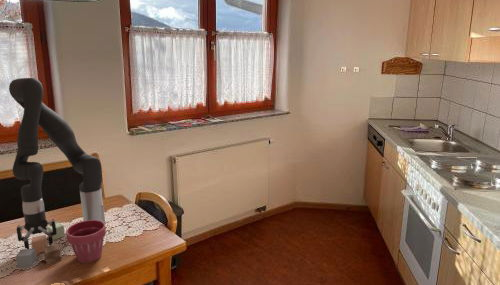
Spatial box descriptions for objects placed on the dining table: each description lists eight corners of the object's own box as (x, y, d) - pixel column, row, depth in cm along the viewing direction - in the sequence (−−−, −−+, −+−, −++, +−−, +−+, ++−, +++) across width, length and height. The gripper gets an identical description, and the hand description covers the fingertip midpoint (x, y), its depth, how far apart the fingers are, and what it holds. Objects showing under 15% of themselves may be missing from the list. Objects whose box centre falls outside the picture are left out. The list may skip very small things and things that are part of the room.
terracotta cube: (47, 245, 166) (45, 234, 165) (46, 251, 162) (45, 240, 160) (33, 248, 164) (32, 237, 163) (33, 253, 160) (31, 242, 158)
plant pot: (86, 270, 147) (82, 239, 144) (61, 260, 154) (57, 231, 151) (115, 253, 159) (112, 224, 156) (92, 244, 166) (88, 216, 163)
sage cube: (59, 232, 177) (58, 222, 176) (65, 235, 174) (63, 225, 173) (48, 236, 174) (46, 226, 172) (53, 240, 171) (52, 229, 169)
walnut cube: (59, 255, 158) (57, 243, 157) (61, 260, 154) (59, 249, 153) (45, 259, 156) (43, 247, 154) (47, 264, 152) (45, 253, 150)
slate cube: (36, 259, 155) (34, 248, 154) (32, 266, 150) (30, 255, 149) (22, 261, 154) (21, 249, 153) (17, 268, 150) (15, 256, 148)
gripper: (53, 203, 164) (58, 239, 169) (14, 209, 159) (20, 246, 163) (53, 210, 158) (58, 247, 162) (12, 216, 152) (18, 254, 156)
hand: (39, 246), depth 162 cm, fingers open, 7 cm apart
